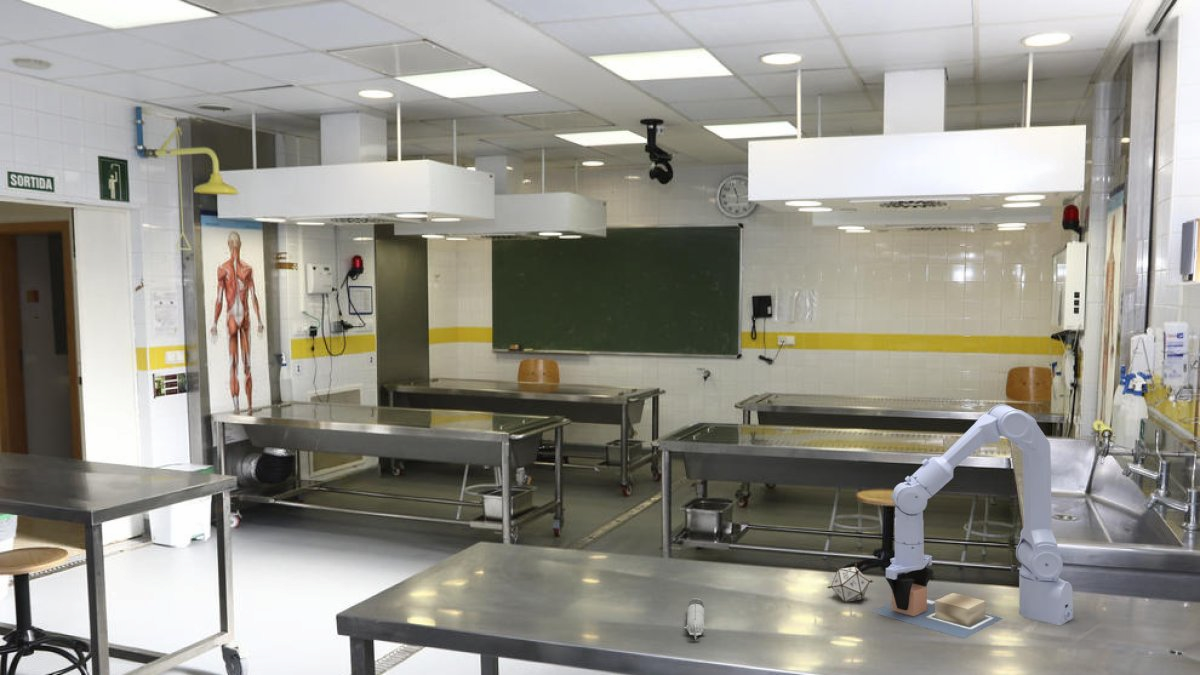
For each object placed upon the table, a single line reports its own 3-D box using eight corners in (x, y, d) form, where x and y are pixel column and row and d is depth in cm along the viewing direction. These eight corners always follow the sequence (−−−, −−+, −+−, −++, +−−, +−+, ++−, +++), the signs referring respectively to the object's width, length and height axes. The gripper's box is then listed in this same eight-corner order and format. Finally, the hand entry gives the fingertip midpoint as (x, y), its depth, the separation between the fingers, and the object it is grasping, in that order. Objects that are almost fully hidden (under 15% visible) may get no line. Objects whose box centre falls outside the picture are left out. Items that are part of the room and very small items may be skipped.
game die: (858, 621, 196) (875, 593, 190) (820, 605, 197) (836, 577, 191) (863, 590, 203) (879, 562, 197) (826, 575, 204) (841, 547, 198)
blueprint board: (1003, 621, 184) (1003, 617, 184) (963, 642, 173) (963, 637, 173) (913, 598, 199) (913, 594, 199) (872, 615, 188) (872, 611, 188)
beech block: (985, 617, 184) (985, 600, 184) (968, 626, 179) (968, 609, 179) (952, 609, 189) (952, 592, 189) (935, 617, 185) (935, 600, 184)
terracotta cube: (926, 610, 188) (926, 586, 188) (914, 616, 185) (913, 592, 185) (905, 604, 192) (905, 581, 192) (892, 610, 189) (892, 586, 189)
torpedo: (684, 612, 194) (684, 581, 193) (706, 612, 193) (706, 582, 193) (683, 644, 176) (682, 610, 176) (707, 644, 175) (707, 611, 175)
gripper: (910, 531, 196) (910, 593, 196) (872, 544, 186) (872, 609, 187) (940, 537, 190) (941, 601, 191) (903, 550, 181) (903, 617, 181)
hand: (909, 605), depth 188 cm, fingers closed on terracotta cube, 5 cm apart
